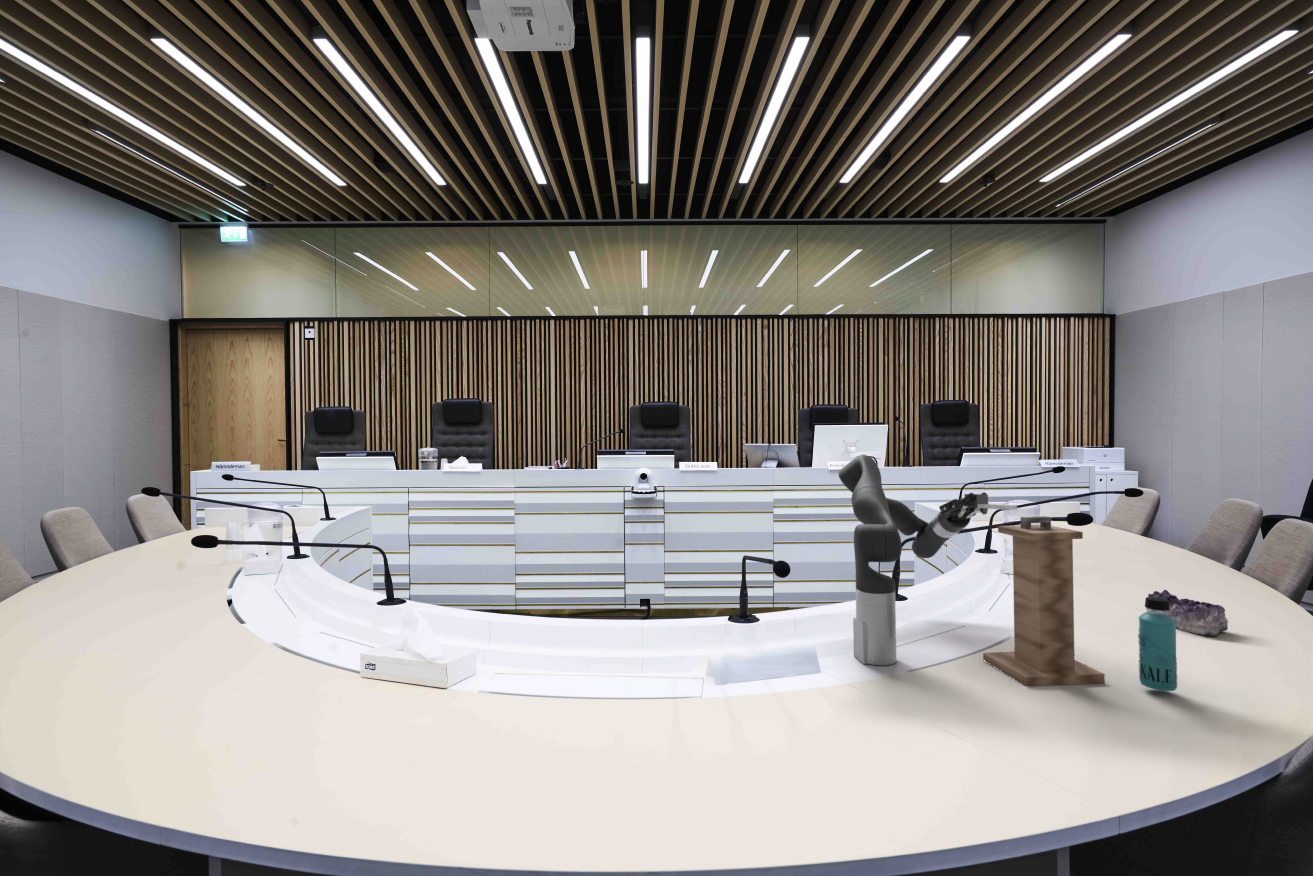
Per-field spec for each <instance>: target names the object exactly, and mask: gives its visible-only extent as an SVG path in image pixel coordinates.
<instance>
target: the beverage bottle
mask: <svg viewBox="0 0 1313 876" xmlns="http://www.w3.org/2000/svg"><path fill="white" fill-rule="evenodd" d="M1144 601H1145V603H1144V608H1145V609H1146V608H1148V609H1153V610H1161V611H1167V610H1170V607H1169V601H1168V600H1167V599H1164V598H1159V597H1148V596H1146V597H1145V600H1144ZM1138 623H1139V624H1138V625H1139V626H1138V635H1137V637H1138V644H1139V645H1138V646H1139V648H1138V652H1139V653H1138V658H1139V659H1138V663H1139V670H1138V672H1139V673H1138V677H1139V678H1138V680H1139V681H1140V684H1141V685H1142V686H1144V687H1145V688H1150V689H1153V690H1157V691H1162V692H1164V691H1165V692H1174V691H1176V690H1177V688H1178V679H1179V678H1178V677H1179V676H1178V660H1177V629H1176V621H1175V620H1174V619H1173V618H1172V617H1170V616H1169V615H1167V614H1164V613H1159V612H1147V611H1145V612H1143V613H1141V614H1140V615H1139V617H1138Z"/></svg>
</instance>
